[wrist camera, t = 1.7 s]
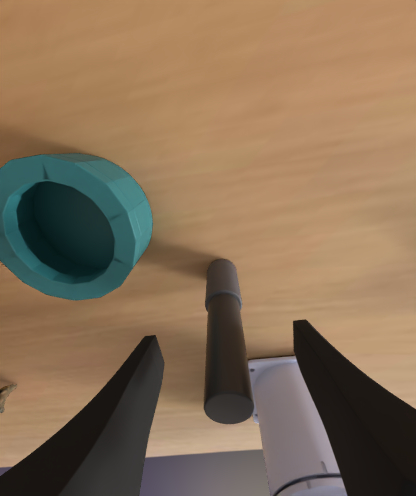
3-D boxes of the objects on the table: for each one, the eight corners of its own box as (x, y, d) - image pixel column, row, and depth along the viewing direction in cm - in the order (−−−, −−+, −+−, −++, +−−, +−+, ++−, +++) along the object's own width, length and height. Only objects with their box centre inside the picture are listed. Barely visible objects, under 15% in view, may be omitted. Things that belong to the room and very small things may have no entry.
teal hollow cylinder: (164, 262, 19) (151, 291, 15) (62, 276, 20) (25, 307, 16) (133, 143, 15) (107, 142, 12) (11, 165, 16) (-53, 171, 12)
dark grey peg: (237, 282, 20) (261, 426, 9) (209, 285, 20) (203, 430, 10) (234, 256, 19) (257, 386, 8) (205, 260, 19) (193, 391, 9)
